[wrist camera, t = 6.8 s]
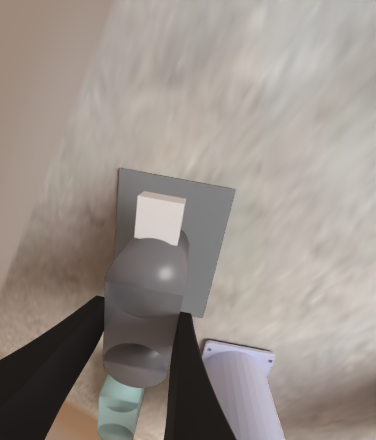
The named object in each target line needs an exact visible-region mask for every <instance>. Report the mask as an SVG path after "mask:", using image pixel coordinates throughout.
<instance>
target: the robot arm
mask: <svg viewBox="0 0 376 440" xmlns="http://www.w3.org/2000/svg"><path fill="white" fill-rule="evenodd" d="M104 299H105V297H101V296H95V297H94V298H93V299H91V300H90V301H89V302H87V303H86V304H85V305H83V306H82V307H81V308H79V309H78V310H77V311H75V312H74V313H73V314H71V315H70V316H68V317H67V318H66V319H64V320H63V321H61V322H60V323H59V324H57V325H56V326H54V327H53V328H51V329H50V330H48V331H47V332H45V333H44V334H42V335H41V336H39V337H38V338H36V339H35V340H33V341H32V342H30V343H28V344H27V345H25V346H23V347H22V348H20V349H18V350H17V351H15V352H13V353H12V354H10V355H8V356H6V357H5V358H3V359H1V360H0V440H45V438H46V435H47V433H48V432H49V430H50V428H51V426H52V424H53V422H54V420H55V418H56V415H57V413H58V412H59V410H60V408H61V406H62V404H63V402H64V400H65V399H66V397H67V395H68V393H69V392H70V390H71V388H72V387H73V385H74V383H75V382H76V380H77V378H78V377H79V375H80V373H81V371H82V370H83V368H84V366H85V365H86V363H87V361H88V360H89V358H90V356H91V355H92V353H93V351H94V350H95V348H96V346H97V344H98V342H99V340H100V338H101V336H102V333H103V331H104V310H105V300H104ZM275 359H276V356H275V354H274V353H273V352H270V351H265V350H260V349H254V348H249V347H244V346H238V345H233V344H228V343H222V342H217V341H212V340H208V341H206V343H205V346H204V350H203V353H202V357H201V353H200V350H199V346H198V343H197V339H196V335H195V331H194V326H193V320H192V315H191V313H186V312H181V311H180V314H179V318H178V323H177V328H176V333H175V338H174V342H173V349H172V355H171V364H170V378H169V392H168V406H167V418H166V428H165V435H164V440H285V437H284V433H283V430H282V427H281V424H280V420H279V417H278V414H277V411H276V407H275V404H274V401H273V398H272V394H271V391H270V388H269V385H268V381H267V377H268V374H269V372H270V370H271V368H272V365H273V363H274V361H275Z"/></svg>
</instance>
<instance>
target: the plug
mask: <svg viewBox="0 0 376 440" xmlns="http://www.w3.org/2000/svg"><path fill="white" fill-rule="evenodd" d="M185 202H186V199H185V198H179V197H174V196H168V195H163V194H158V193H152V192H147V191H144V192H142V193H141V194H139V195H138V199H137V211H136V223H135V235H134V237H133V238H132V239H131V241H130V242H129V243H128V244H127V246H126V247H125V248H124V249H123V251H122V252H121V253H120V254H119V256H118V257H117V258H116V259H115V261H114V262H113V263H112V264H111V266H110V267H109V269H108V271H107V273H106V276H105V299H104V300H105V310H104V339H103V365H104V368H105V370H106V372H107V373H108V374H109V375H110V376H111V377H112V378H113V379H114V380H116V381H117V382H119V383H121V384H123V385H126V386H129V387H134V388H149V387H153V386H156V385H158V384H160V383H161V382H162V381H163V380H164V379H165V378H166V376H167V373H168V368H169V363H170V358H171V353H172V349H173V342H174V338H175V333H176V328H177V323H178V318H179V314H180V310H181V305H182V300H183V296H184V287H185V279H186V271H187V263H188V255H189V241H188V238H187V236H186V234H185V233H184V231H183V230H182V229H181V225H182V220H183V214H184V208H185Z"/></svg>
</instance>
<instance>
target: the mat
mask: <svg viewBox="0 0 376 440" xmlns="http://www.w3.org/2000/svg"><path fill="white" fill-rule="evenodd" d="M144 191H147V192H152V193H158V194H163V195H168V196H174V197H179V198H185V199H186V202H185V208H184V214H183V220H182V225H181V229H182V230H183V231H184V233H185V234H186V236H187V238H188V241H189V255H188V263H187V271H186V279H185V287H184V296H183V300H182V305H181V310H180V311H181V312H186V313H191V315H192V316H193V317H199V318H203V316H204V312H205V308H206V304H207V300H208V296H209V292H210V288H211V284H212V280H213V276H214V273H215V269H216V265H217V261H218V257H219V253H220V249H221V245H222V241H223V237H224V233H225V229H226V225H227V222H228V218H229V214H230V210H231V206H232V202H233V198H234V194H235V189H231V188H226V187H221V186H215V185H210V184H205V183H199V182H194V181H188V180H183V179H178V178H172V177H167V176H162V175H156V174H151V173H145V172H140V171H135V170H129V169H124V168H119V185H118V201H117V217H116V233H115V250H114V261H115V259H116V258H117V257H118V256H119V254H120V253H121V252H122V251H123V249H124V248H125V247H126V246H127V244H128V243H129V242H130V241H131V239H132V238H133V237H134V235H135V223H136V211H137V199H138V195H139V194H141V193H142V192H144Z"/></svg>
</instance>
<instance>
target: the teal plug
mask: <svg viewBox="0 0 376 440" xmlns="http://www.w3.org/2000/svg"><path fill="white" fill-rule="evenodd" d="M144 392H145V388H134V387H129V386H126V385H123V384H121V383H119V382H117V381H116V380H114V379H113V378H112V377H111V376H110V375H109V374H108V375H107V378H106V380H105V382H104V385H103V387H102V389H101V392H100V394H99V411H98V435H99V437H100V438H101V439H102V440H133V438H134V434H135V429H136V425H137V421H138V417H139V413H140V408H141V404H142V400H143V396H144Z"/></svg>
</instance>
